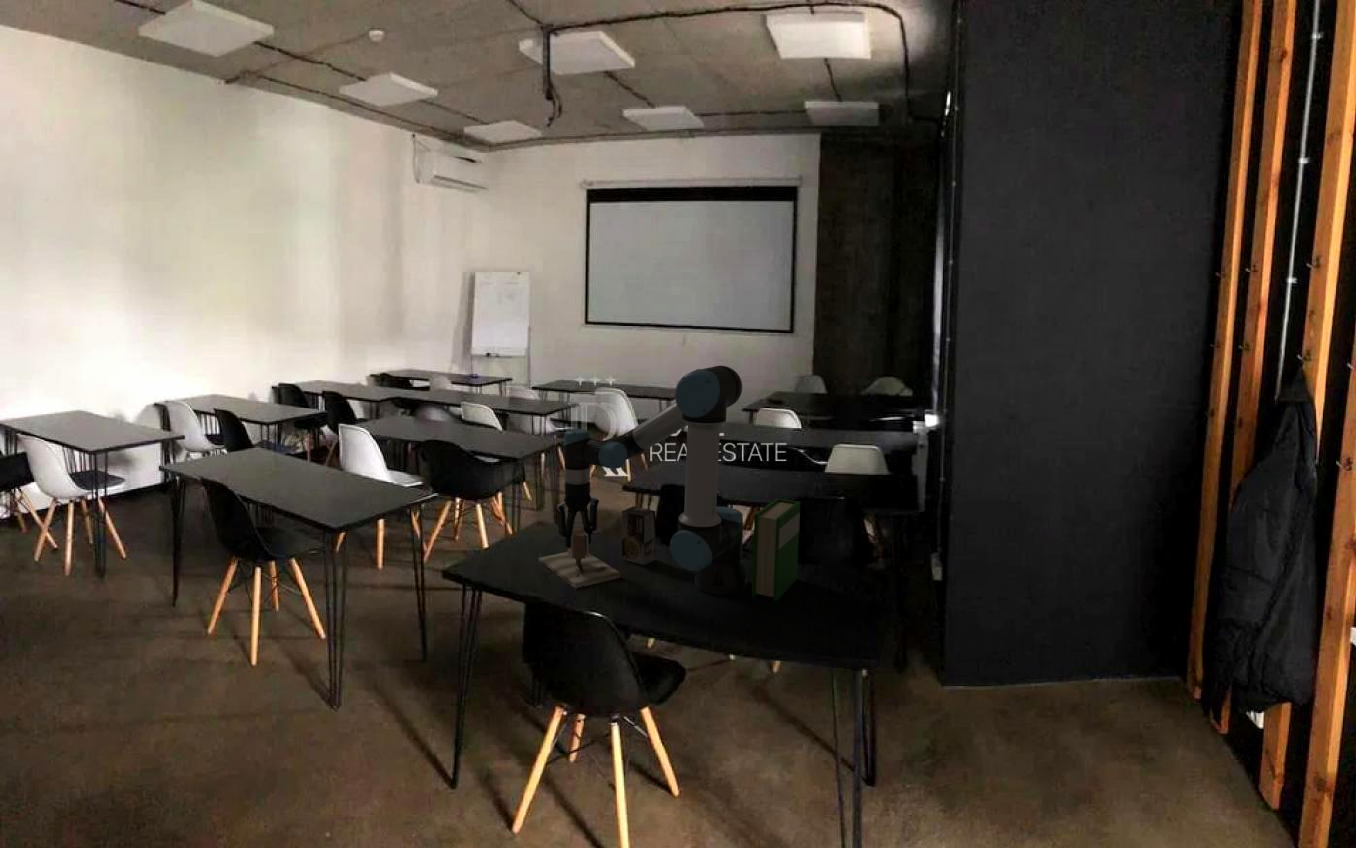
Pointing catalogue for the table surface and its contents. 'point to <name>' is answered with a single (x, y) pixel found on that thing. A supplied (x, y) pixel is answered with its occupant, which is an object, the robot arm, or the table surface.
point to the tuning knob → (579, 547)
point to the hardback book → (775, 548)
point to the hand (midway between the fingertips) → (578, 555)
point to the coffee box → (638, 535)
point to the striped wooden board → (571, 574)
